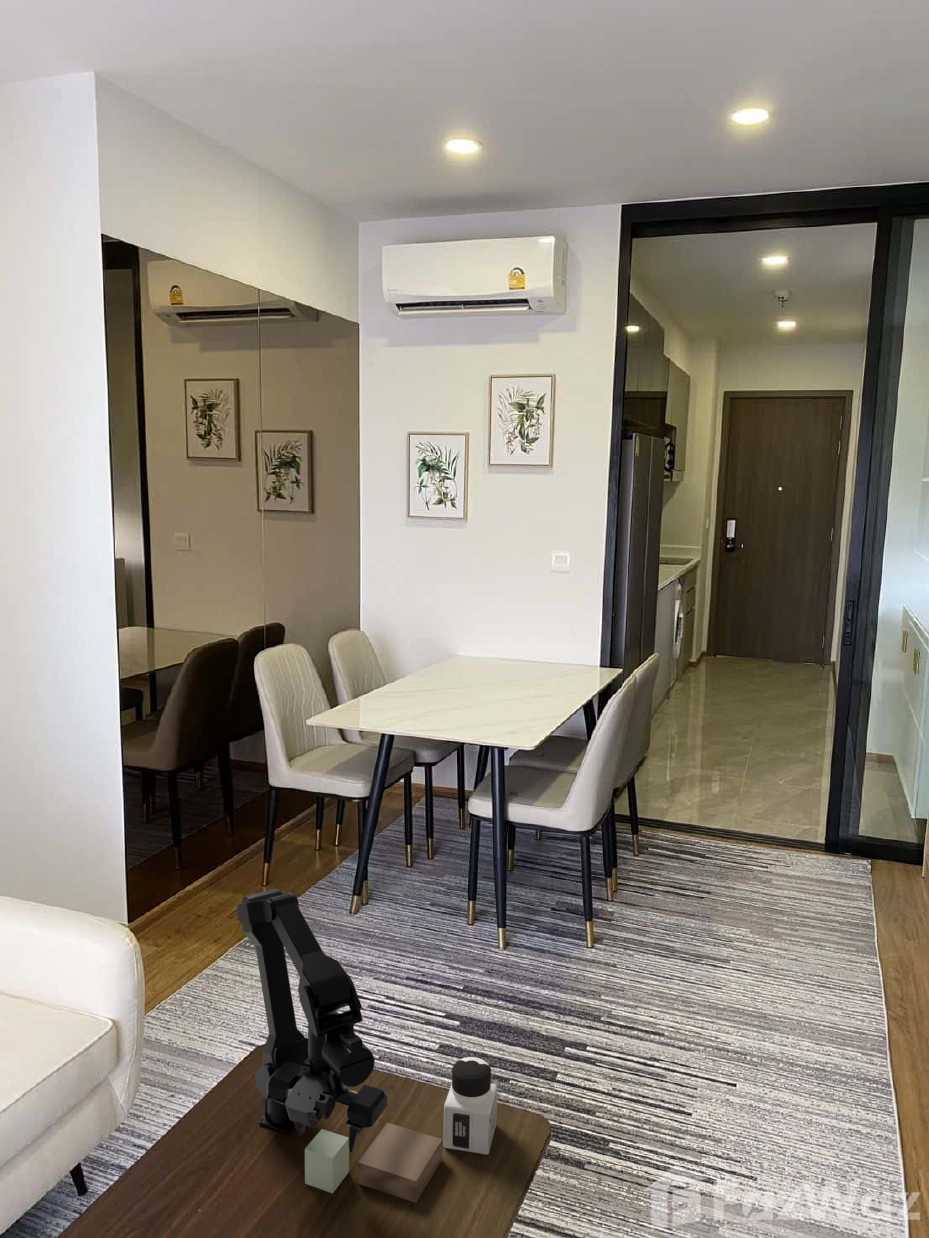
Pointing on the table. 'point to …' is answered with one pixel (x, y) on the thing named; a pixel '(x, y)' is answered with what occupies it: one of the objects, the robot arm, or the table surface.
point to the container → (470, 1107)
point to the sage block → (326, 1160)
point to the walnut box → (400, 1162)
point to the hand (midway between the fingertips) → (326, 1142)
